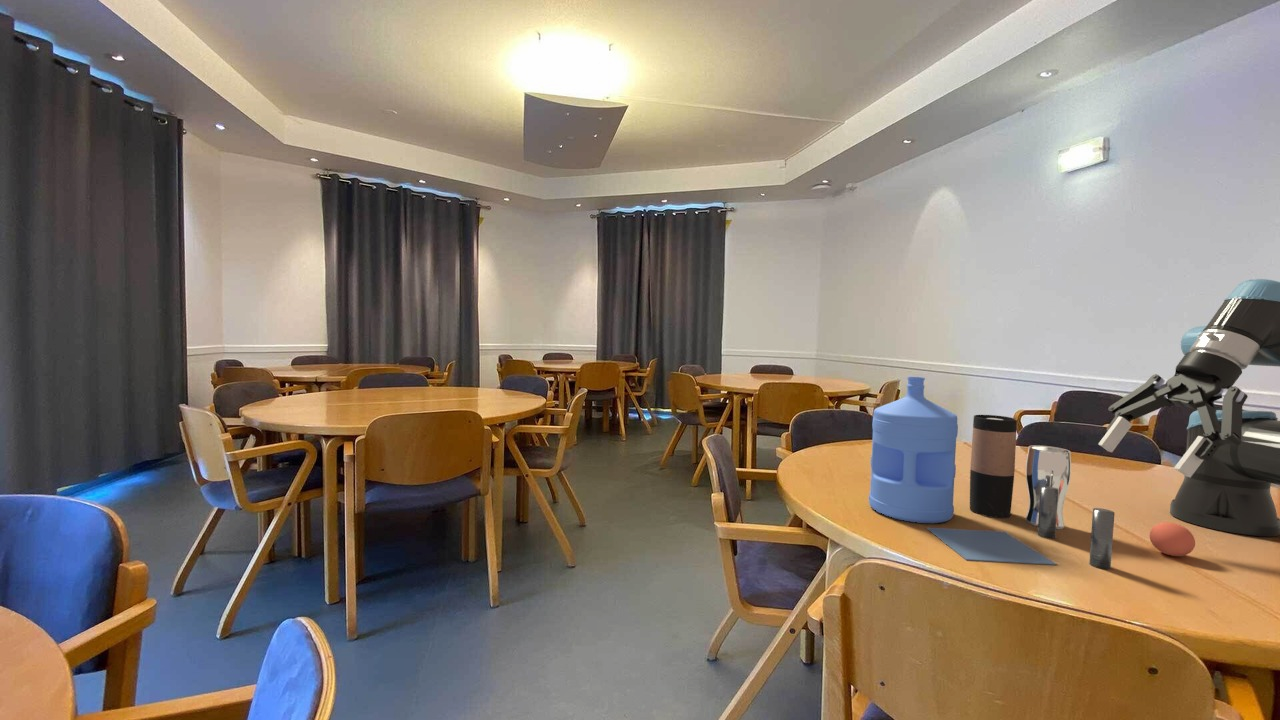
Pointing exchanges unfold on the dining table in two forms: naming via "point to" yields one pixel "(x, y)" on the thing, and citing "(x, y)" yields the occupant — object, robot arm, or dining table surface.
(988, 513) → the travel mug
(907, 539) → the dining table surface
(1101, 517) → the post
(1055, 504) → the post
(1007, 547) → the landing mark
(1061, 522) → the beer glass
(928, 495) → the water jug
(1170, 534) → the ball
